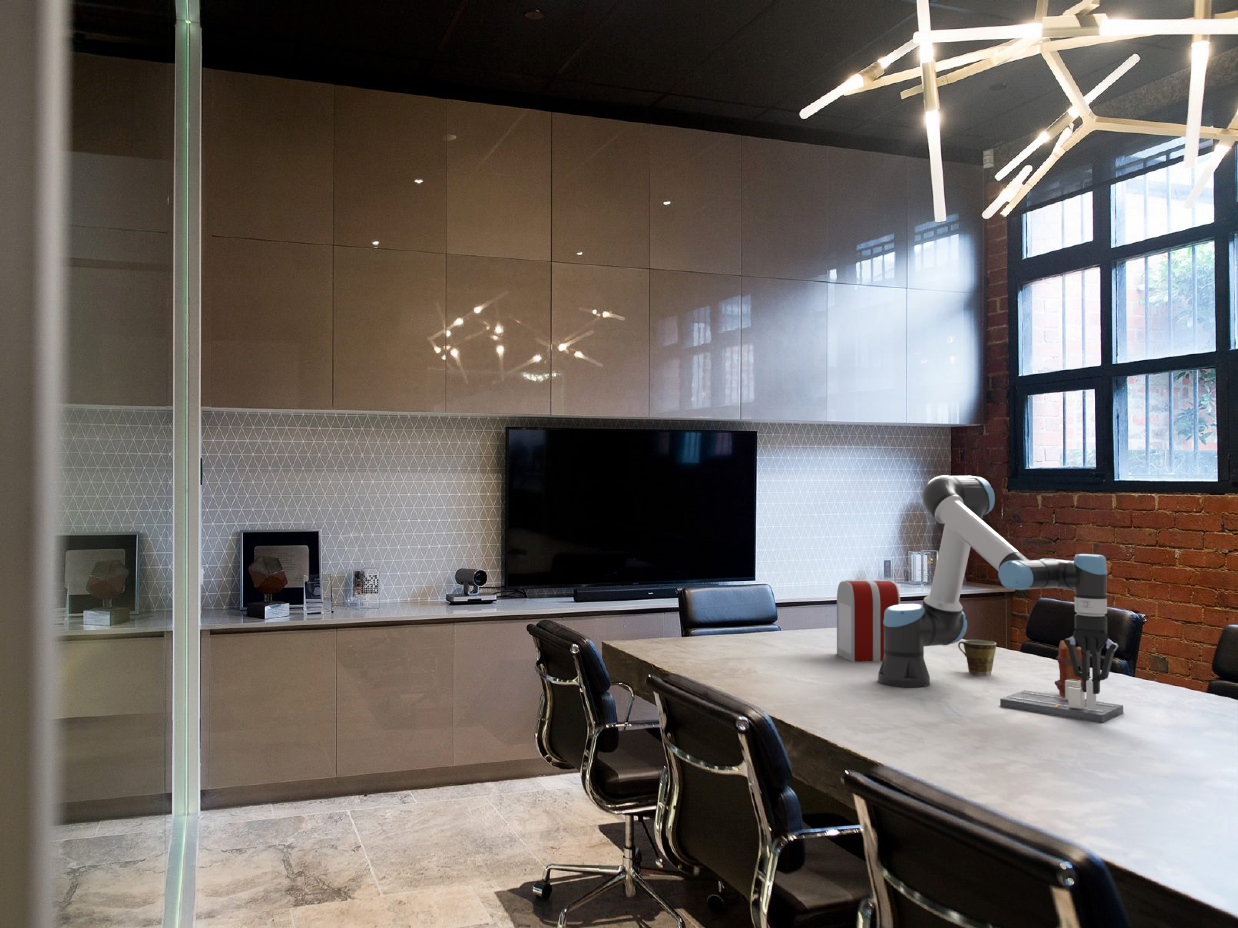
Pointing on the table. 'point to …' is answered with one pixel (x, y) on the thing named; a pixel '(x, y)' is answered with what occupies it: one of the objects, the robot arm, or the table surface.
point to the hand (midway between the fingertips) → (1091, 705)
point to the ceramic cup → (979, 656)
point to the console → (1060, 706)
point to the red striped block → (863, 618)
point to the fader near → (1076, 697)
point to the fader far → (1071, 683)
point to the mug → (1066, 667)
